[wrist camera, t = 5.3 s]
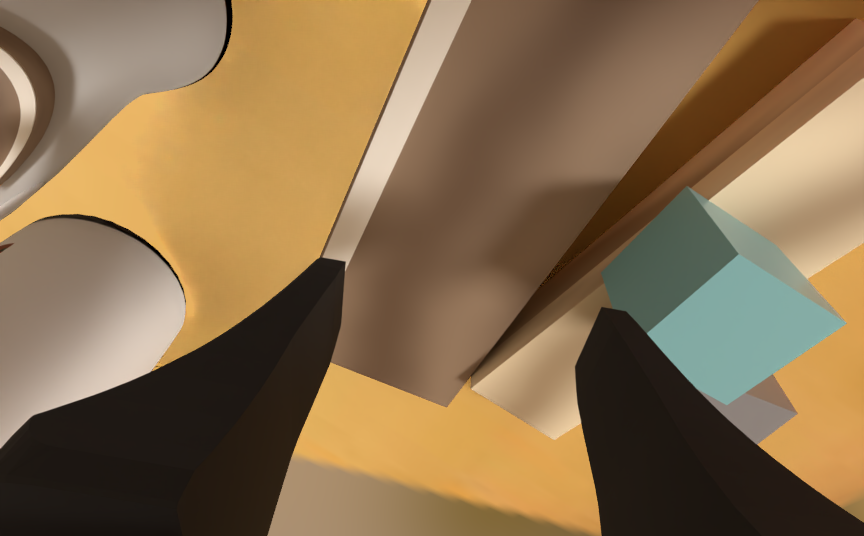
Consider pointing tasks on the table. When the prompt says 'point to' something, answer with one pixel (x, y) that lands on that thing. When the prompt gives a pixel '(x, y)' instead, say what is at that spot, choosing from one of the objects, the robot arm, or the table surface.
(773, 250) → the teal cube
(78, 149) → the silver metal tumbler
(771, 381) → the grey cube
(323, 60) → the table surface
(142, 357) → the milk bottle
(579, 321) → the tan tray
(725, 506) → the robot arm
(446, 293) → the dock
